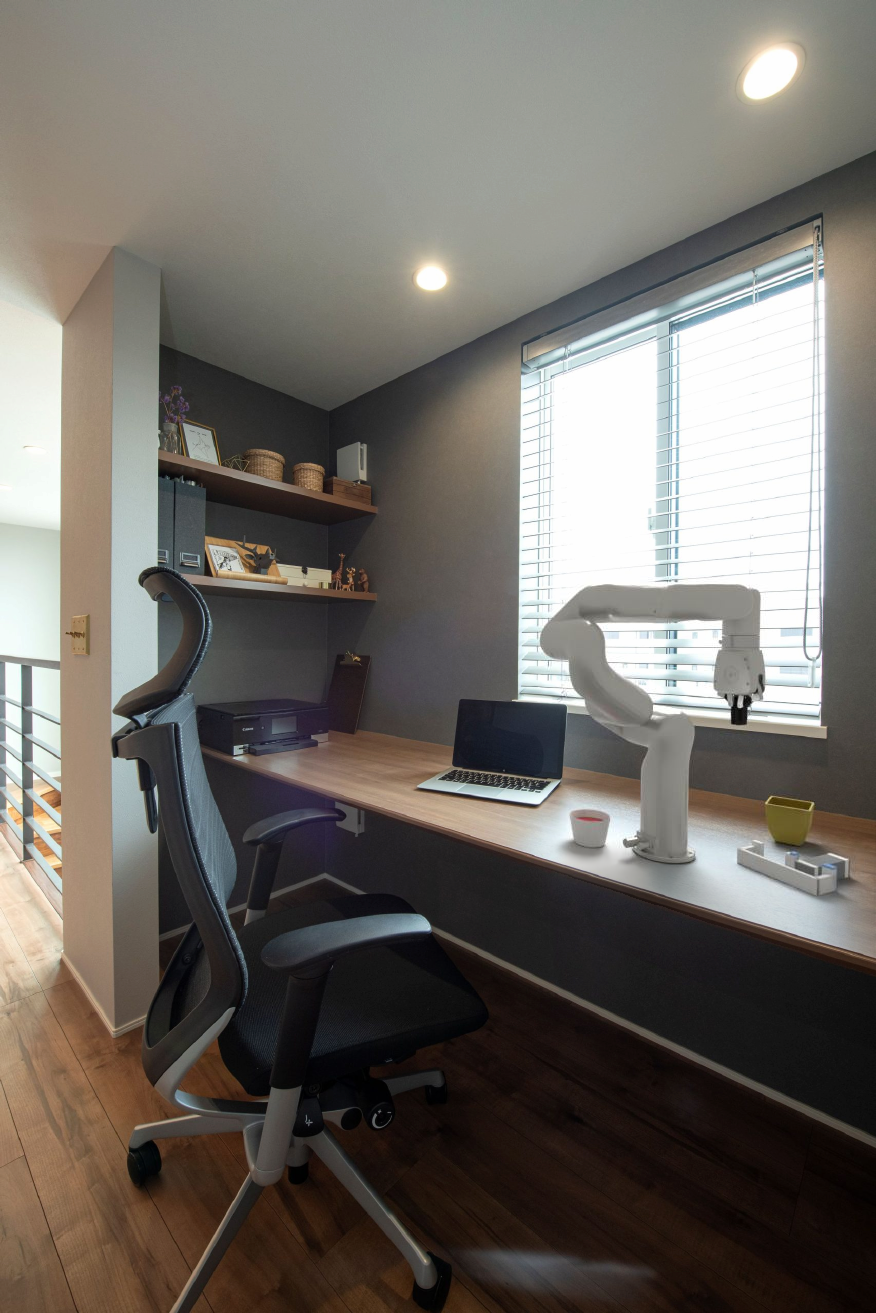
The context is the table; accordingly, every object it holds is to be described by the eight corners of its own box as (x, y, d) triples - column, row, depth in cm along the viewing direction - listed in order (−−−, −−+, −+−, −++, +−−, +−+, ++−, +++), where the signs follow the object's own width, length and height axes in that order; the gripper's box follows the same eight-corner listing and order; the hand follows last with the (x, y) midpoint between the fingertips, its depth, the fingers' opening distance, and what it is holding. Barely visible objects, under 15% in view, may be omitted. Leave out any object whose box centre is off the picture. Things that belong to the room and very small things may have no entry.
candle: (615, 840, 125) (615, 813, 125) (602, 853, 118) (603, 824, 118) (577, 832, 131) (577, 806, 130) (563, 844, 123) (563, 816, 123)
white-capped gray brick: (812, 886, 102) (813, 867, 102) (794, 878, 106) (794, 860, 106) (849, 876, 107) (850, 859, 107) (831, 869, 110) (831, 852, 110)
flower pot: (770, 831, 132) (770, 794, 131) (813, 840, 126) (814, 801, 126) (763, 842, 125) (764, 803, 125) (809, 851, 119) (810, 811, 119)
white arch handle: (816, 895, 98) (816, 871, 98) (736, 862, 113) (737, 841, 113) (836, 890, 101) (837, 866, 101) (756, 858, 115) (756, 837, 115)
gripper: (700, 643, 129) (699, 721, 129) (759, 644, 115) (758, 730, 115) (723, 643, 131) (722, 719, 132) (783, 644, 118) (782, 728, 118)
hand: (738, 724), depth 124 cm, fingers closed
